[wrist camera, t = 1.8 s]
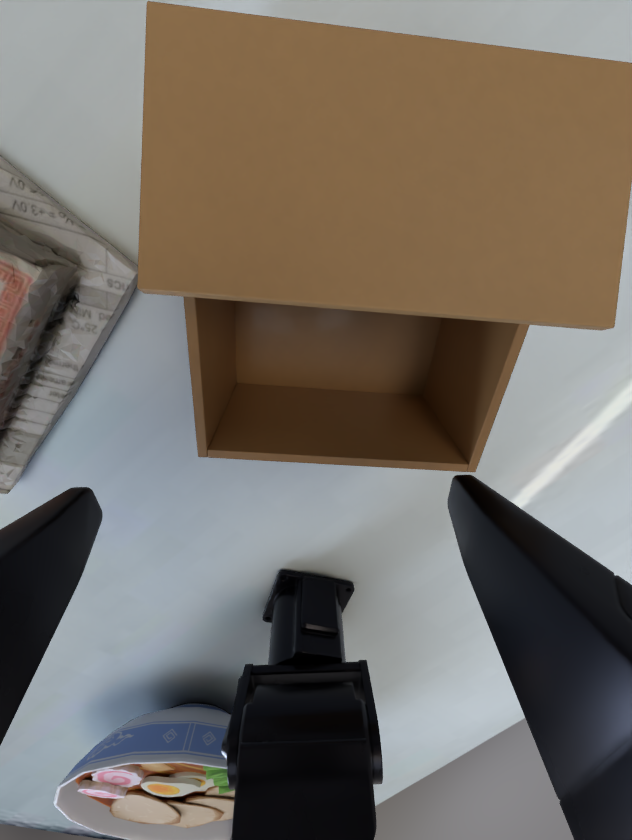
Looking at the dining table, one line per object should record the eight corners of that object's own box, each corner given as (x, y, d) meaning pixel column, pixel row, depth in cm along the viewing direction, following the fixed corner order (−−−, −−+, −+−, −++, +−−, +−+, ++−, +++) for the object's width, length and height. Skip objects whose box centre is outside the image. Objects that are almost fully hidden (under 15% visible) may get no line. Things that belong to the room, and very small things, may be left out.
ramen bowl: (83, 647, 34) (22, 761, 27) (319, 669, 36) (322, 778, 29) (102, 756, 45) (64, 856, 38) (280, 767, 48) (275, 862, 41)
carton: (222, 106, 15) (157, 19, 9) (492, 137, 16) (622, 76, 9) (231, 385, 21) (197, 457, 15) (425, 398, 22) (475, 472, 15)
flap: (152, 18, 8) (145, -1, 8) (631, 78, 9) (646, 63, 9) (143, 294, 9) (136, 288, 8) (601, 330, 9) (615, 327, 9)
